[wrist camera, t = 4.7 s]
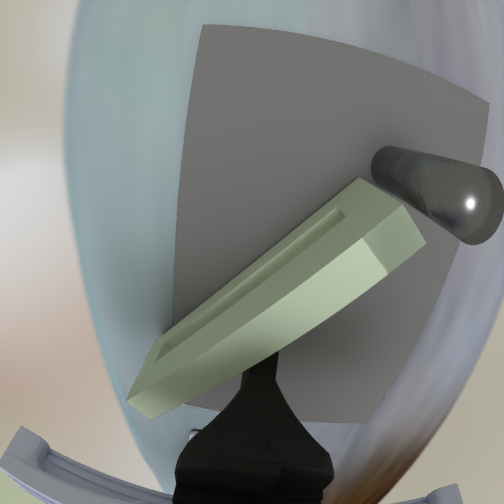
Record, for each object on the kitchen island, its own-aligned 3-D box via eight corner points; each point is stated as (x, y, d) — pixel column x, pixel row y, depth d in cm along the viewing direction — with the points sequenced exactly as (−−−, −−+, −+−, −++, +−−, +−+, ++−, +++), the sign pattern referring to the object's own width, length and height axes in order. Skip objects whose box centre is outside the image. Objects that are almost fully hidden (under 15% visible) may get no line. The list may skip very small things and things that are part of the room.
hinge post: (401, 192, 13) (491, 250, 6) (363, 183, 13) (440, 236, 6) (410, 152, 12) (511, 180, 5) (372, 140, 12) (460, 156, 5)
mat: (365, 417, 19) (367, 422, 18) (176, 396, 19) (175, 401, 18) (483, 103, 10) (489, 103, 10) (205, 28, 10) (202, 24, 10)
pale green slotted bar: (174, 357, 16) (150, 419, 12) (155, 340, 16) (124, 401, 12) (378, 203, 12) (426, 243, 8) (358, 177, 12) (402, 203, 7)
